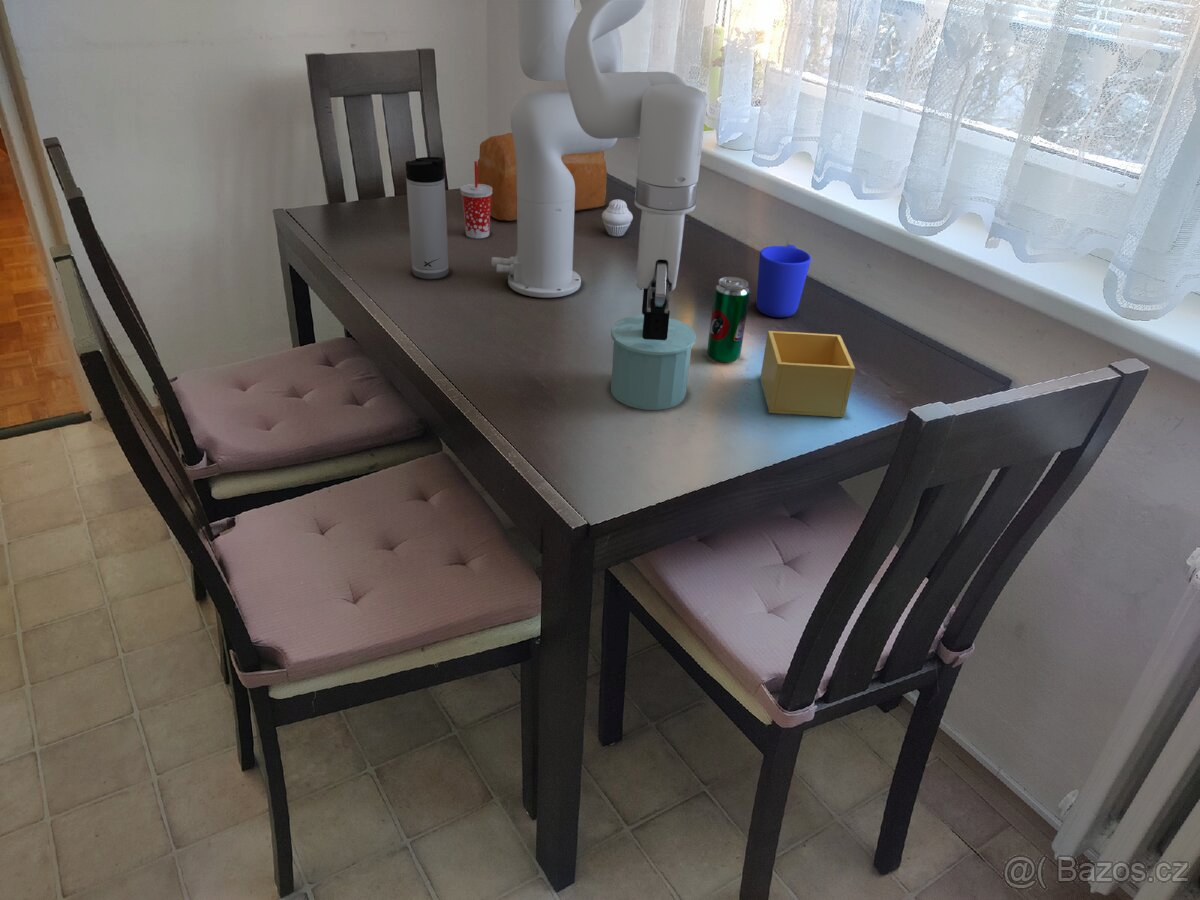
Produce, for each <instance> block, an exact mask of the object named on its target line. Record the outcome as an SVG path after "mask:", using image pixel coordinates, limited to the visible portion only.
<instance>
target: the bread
mask: <svg viewBox="0 0 1200 900" xmlns="http://www.w3.org/2000/svg"><path fill="white" fill-rule="evenodd" d="M478 155H479V156H478V159H477V184H485V185H488V186H490V187H492V189H493V191H492V194H491V210H490V217H492V218H493V219H495V220H498V221H501V222H502V221H504V222H505V221H506V222H511V221H517V170H516V156H515V148H514V141H513V135H512V132H508V133H504V134H501V135H499V134H498V135H492V136H489V137H488V138H486V139H485V140H483V141H482V142H481V143H480V144H479V154H478ZM561 160H562V162H563V164H564V165H565V166H566V168H567V169H568V170H569V171H570V173H571V174H572V176H573V179H574V183H575V209H574V212H579V211H586V210H592V209H598V208H601V207H605V205H606V197H607V182H608V181H607V180H608V179H607V177H608V173H607V172H608V171H607V163H606V160H605V151H601V152H592V153H577V154H568V155H563V156H562V157H561Z"/></svg>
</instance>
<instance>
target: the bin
mask: <svg viewBox="0 0 1200 900" xmlns="http://www.w3.org/2000/svg"><path fill="white" fill-rule="evenodd" d="M855 373H856V367H855V364H854V363H853V360H852V357H851V356H850V353H849V351H848V349H847V346H846V344H845V342H844V340H843V338H842V336H841V334H834V333H833V334H830V333H817V332H815V333H813V332H798V331H780V330H768V331H767V335H766V341H765V347H764V353H763V359H762V366H761V371H760V376H759V377H760V382H761V386H762V389H763V394H764V397H765V401H766V406H767V409H768V413H769V414H781V415H798V416H813V417H814V416H815V417H818V416H819V417H832V418H845V416H846V411H847V407H848V402H849V398H850V394H851V389H852V385H853V381H854V377H855Z"/></svg>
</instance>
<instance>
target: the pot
mask: <svg viewBox="0 0 1200 900" xmlns="http://www.w3.org/2000/svg"><path fill="white" fill-rule="evenodd" d="M612 348H613V350H612V364H611V382H610V392H611V394H612V396H613V397H614V398H615V399H616V400H617V401H618V402H620V403H621V404H623V405H625V406H628V407H631V408H634V409H639V410H645V411H646V410H647V411H660V410H661V411H662V410H666V409H671V408H674V407H676V406H678V405H680V404H681V403H683V401H684V400H685V397H686V395H687V388H688V380H689V371H690V364H691V356H692V347H691V348H689V349H688V350H686V351H683V352H680V353H676V354H671V355H648V354H642V353H637V352H633V351H630V350H628V349H625V348H623V347H621V346H620V345H618V344H617V343H616V342H615V341H614V340H613V347H612Z"/></svg>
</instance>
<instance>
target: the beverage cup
mask: <svg viewBox="0 0 1200 900" xmlns="http://www.w3.org/2000/svg"><path fill="white" fill-rule="evenodd" d="M473 162H474V183H468V184H464V185H461V186H460V188H459V190H460V195H461V198H462V209H463V220H464V229H465V230H464V231H465V236H466V237H468V238H471V239H485V238H488V237H489V236H490V234H491V233H490V231H491V228H490V227H491V216H490V210H491V194H492V191H493V189H492V187H490V186H488V185H485V184H477V163H478V160H475V161H473Z"/></svg>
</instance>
